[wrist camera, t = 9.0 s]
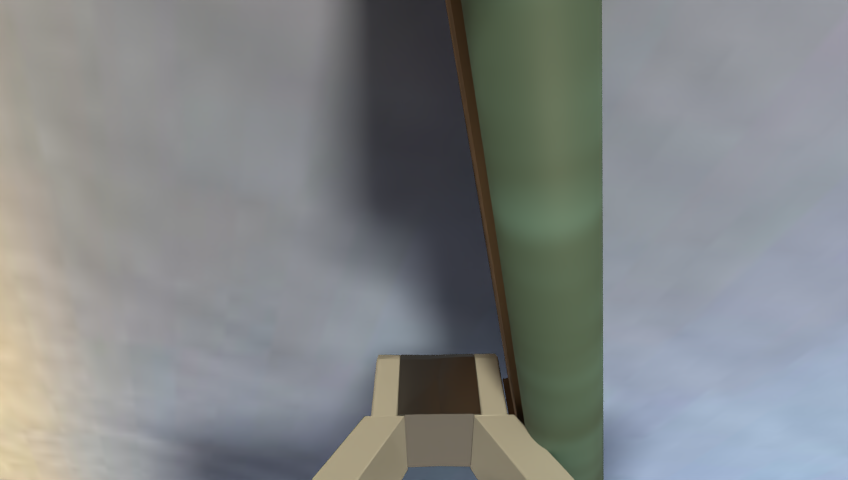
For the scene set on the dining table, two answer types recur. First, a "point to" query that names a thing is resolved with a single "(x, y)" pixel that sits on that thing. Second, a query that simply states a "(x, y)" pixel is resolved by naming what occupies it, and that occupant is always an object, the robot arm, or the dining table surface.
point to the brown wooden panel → (541, 206)
